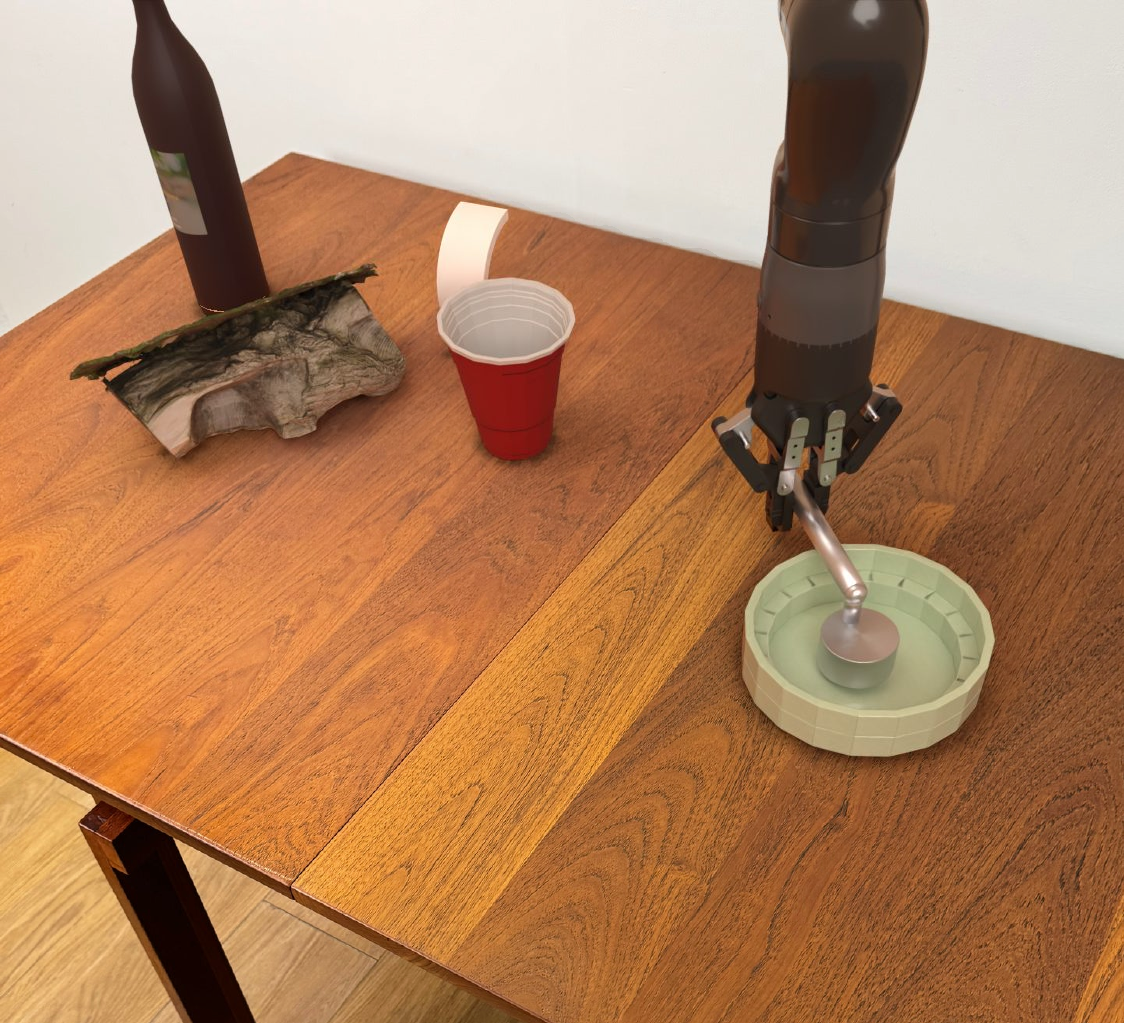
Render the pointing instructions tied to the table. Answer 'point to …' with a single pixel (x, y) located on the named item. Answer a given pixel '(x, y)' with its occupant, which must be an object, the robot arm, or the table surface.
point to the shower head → (846, 609)
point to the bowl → (920, 666)
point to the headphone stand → (467, 247)
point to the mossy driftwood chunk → (257, 365)
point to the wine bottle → (194, 163)
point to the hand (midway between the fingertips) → (795, 521)
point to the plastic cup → (508, 359)
